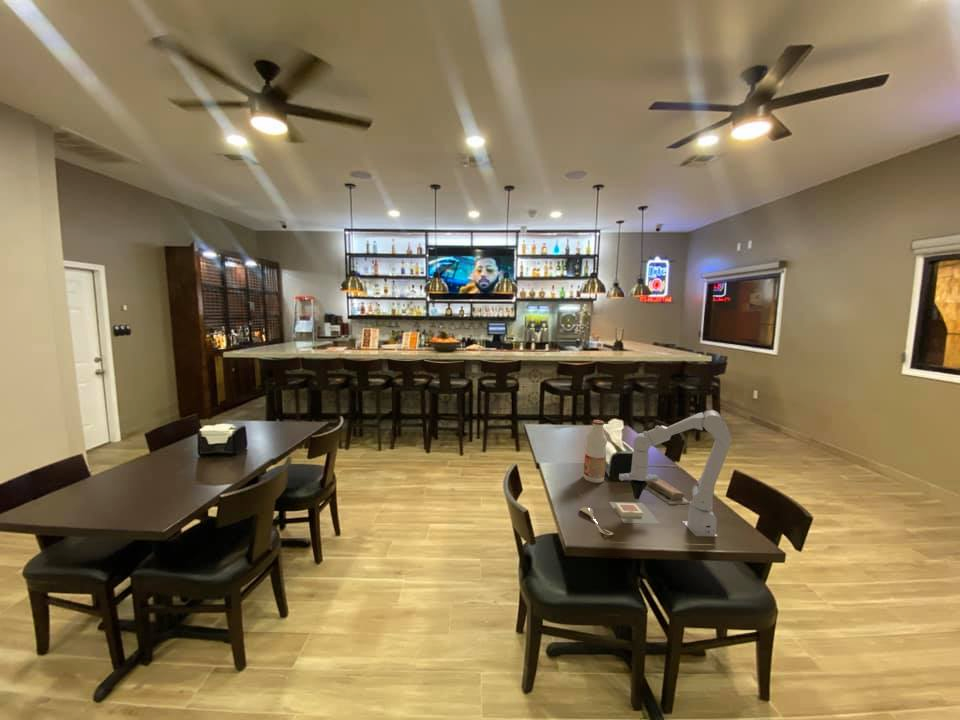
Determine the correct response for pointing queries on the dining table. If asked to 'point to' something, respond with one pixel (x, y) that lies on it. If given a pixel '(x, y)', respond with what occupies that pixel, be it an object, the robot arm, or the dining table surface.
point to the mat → (647, 517)
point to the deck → (628, 510)
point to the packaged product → (666, 492)
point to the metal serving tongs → (590, 512)
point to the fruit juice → (595, 453)
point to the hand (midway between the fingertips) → (636, 497)
